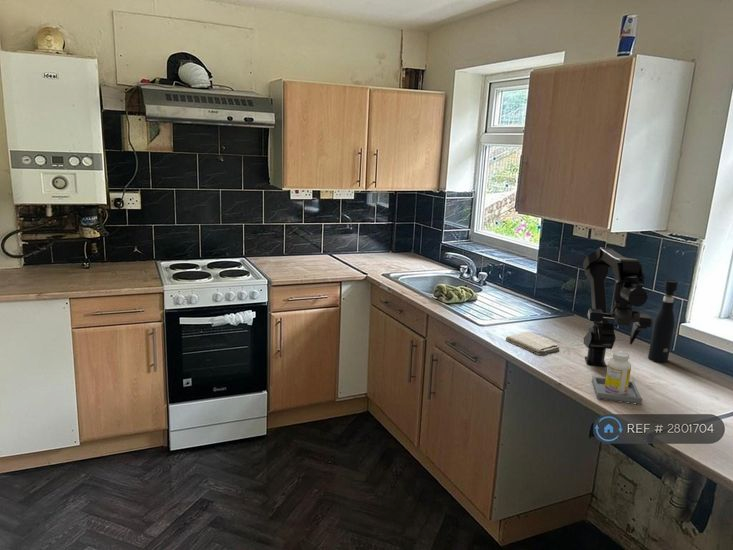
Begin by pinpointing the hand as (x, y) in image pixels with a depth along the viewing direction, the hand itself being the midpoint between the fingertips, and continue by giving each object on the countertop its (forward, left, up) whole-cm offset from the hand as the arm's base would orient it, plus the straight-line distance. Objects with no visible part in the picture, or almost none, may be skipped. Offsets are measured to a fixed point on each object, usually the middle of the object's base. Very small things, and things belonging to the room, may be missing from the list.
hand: (615, 342), depth 180 cm
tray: (+11, 0, -13) cm, 17 cm away
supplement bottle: (+11, 0, -13) cm, 17 cm away
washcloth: (-23, -24, -14) cm, 36 cm away
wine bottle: (-24, +20, -13) cm, 34 cm away
